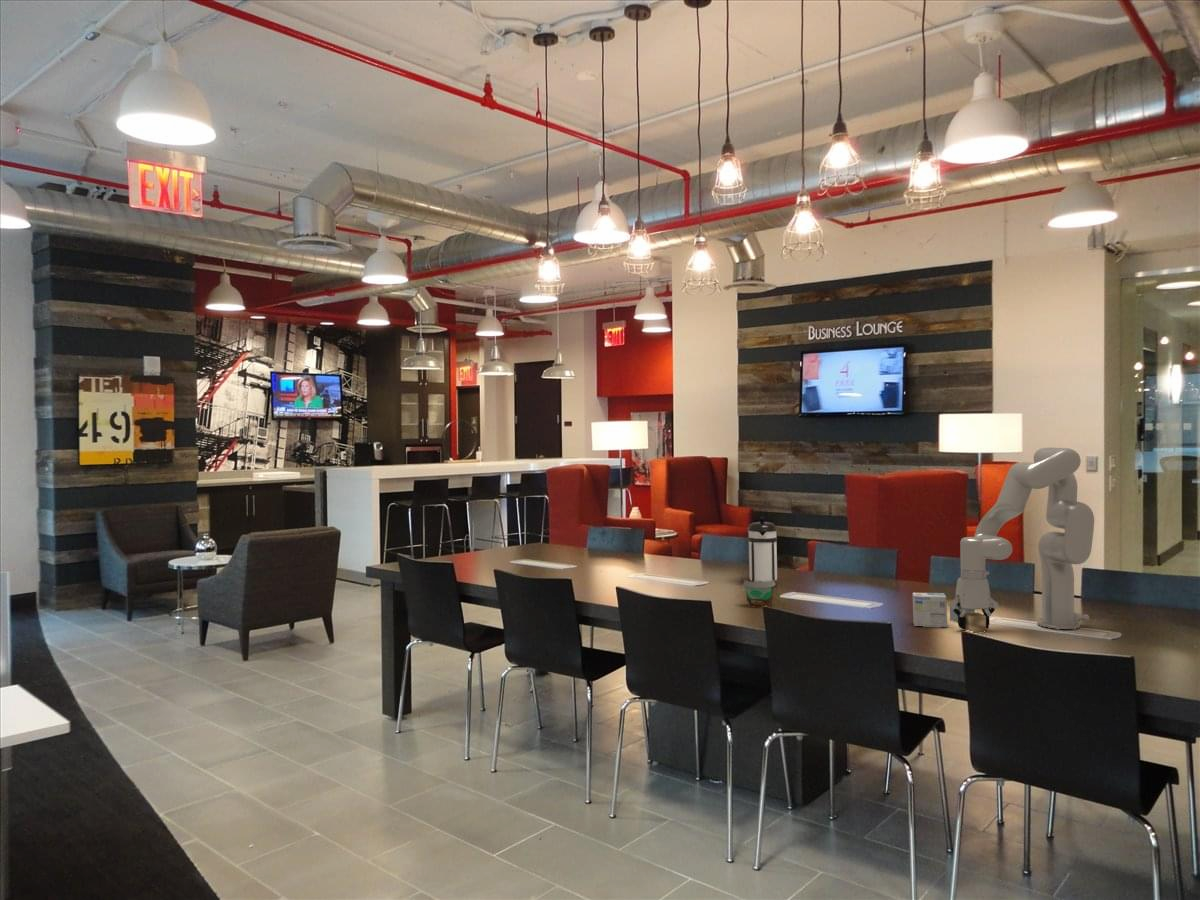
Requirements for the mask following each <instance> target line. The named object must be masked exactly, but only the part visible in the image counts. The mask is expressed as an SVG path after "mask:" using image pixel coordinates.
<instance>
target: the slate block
mask: <svg viewBox="0 0 1200 900" xmlns="http://www.w3.org/2000/svg"><path fill="white" fill-rule="evenodd" d="M955 607H956V608H957V609H959V607H958V606H956V605H955ZM975 610H976V609H970V610H966V612H965V613H976V612H975ZM949 620H950V621H951V620H953V621H952V622H955V621H956V623H958V615H956V613H955V612H953V610H952V609H951V608H950V607H949Z"/></svg>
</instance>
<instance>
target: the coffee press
mask: <svg viewBox="0 0 1200 900" xmlns="http://www.w3.org/2000/svg"><path fill="white" fill-rule="evenodd" d="M765 520H766V518H765V517H764V516H760V517H759V521H756V522H752V523H750V524H749V525H748V527H747V531H748V536H747V540H748V562H749V563H748V566H749V567H748V569H749V571H748V573H749V574H748V575H749V580H750V581H751V582H754V581H764V582H770V581H773V580H774V582H775V581H776V582H775V585H777V586H778V584H777V580H778V556H777V555H778V554H777V553H778V552H777V549H778V547H777V545H778V544H777V541H778V536H777V531H778V528H777V527H776V525H775V524H774V523H773V522H769V521H765Z"/></svg>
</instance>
